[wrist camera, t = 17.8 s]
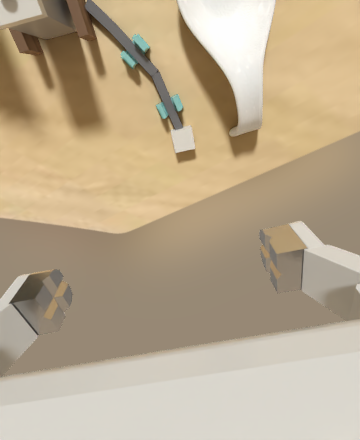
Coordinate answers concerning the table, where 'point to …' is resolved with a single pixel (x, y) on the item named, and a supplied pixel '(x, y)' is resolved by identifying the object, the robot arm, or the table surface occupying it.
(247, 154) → the table surface
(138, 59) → the cable
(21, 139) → the table surface
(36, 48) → the holder
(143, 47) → the clip
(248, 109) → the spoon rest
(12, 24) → the grey block with knob
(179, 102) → the clip
